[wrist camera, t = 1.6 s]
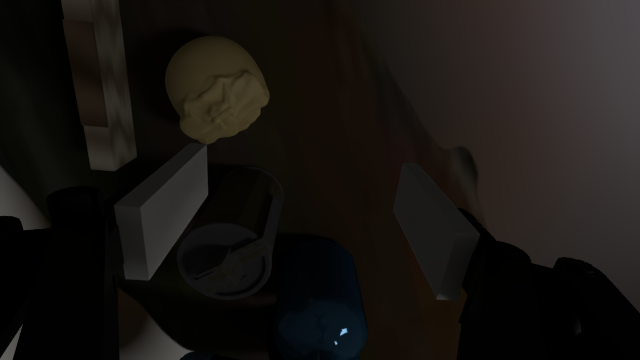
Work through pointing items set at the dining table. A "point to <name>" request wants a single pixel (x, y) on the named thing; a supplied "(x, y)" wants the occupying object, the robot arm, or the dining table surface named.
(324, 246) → the wine bottle
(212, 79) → the sculpture
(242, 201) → the canister
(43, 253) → the robot arm
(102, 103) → the board
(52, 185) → the dining table surface
